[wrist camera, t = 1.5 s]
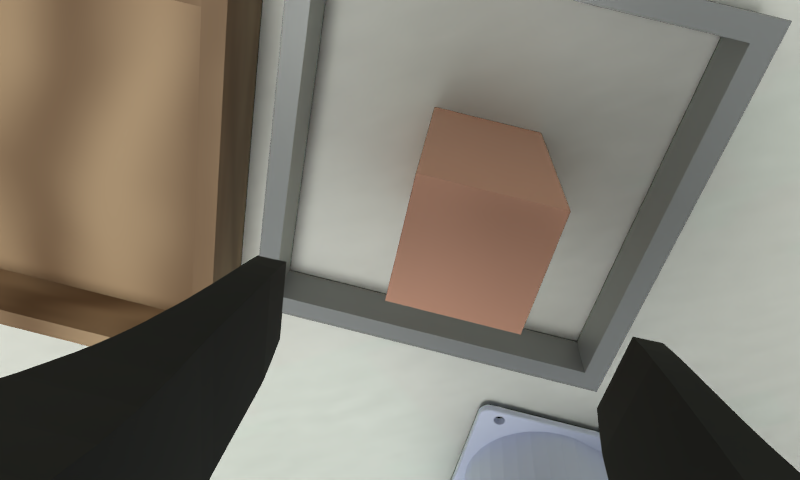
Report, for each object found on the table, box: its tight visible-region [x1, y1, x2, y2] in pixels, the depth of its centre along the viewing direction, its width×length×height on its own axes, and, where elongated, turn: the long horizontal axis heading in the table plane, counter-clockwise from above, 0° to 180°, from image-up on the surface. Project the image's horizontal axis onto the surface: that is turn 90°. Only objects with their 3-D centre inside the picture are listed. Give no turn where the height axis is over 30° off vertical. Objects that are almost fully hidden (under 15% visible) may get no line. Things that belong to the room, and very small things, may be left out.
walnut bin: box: [0, 0, 262, 346], centre depth 21 cm, size 16×16×3 cm
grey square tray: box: [259, 0, 792, 392], centre depth 20 cm, size 15×15×2 cm
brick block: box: [385, 107, 571, 335], centre depth 18 cm, size 4×4×7 cm
